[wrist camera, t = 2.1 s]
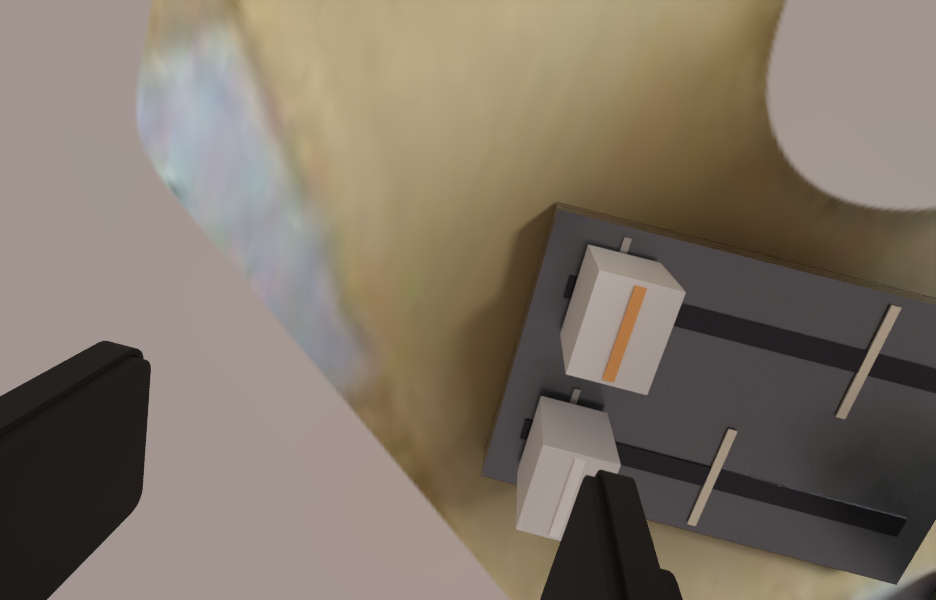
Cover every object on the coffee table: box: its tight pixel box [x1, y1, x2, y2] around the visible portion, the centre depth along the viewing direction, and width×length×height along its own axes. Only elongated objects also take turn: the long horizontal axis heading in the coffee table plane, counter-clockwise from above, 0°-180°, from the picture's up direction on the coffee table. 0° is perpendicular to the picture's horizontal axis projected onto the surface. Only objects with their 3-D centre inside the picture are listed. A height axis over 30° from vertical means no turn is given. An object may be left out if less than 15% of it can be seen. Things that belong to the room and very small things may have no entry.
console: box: [481, 202, 936, 585], centre depth 27 cm, size 13×20×2 cm, turn 76°
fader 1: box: [516, 396, 621, 541], centre depth 25 cm, size 4×3×4 cm
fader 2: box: [560, 244, 686, 395], centre depth 23 cm, size 4×3×4 cm
